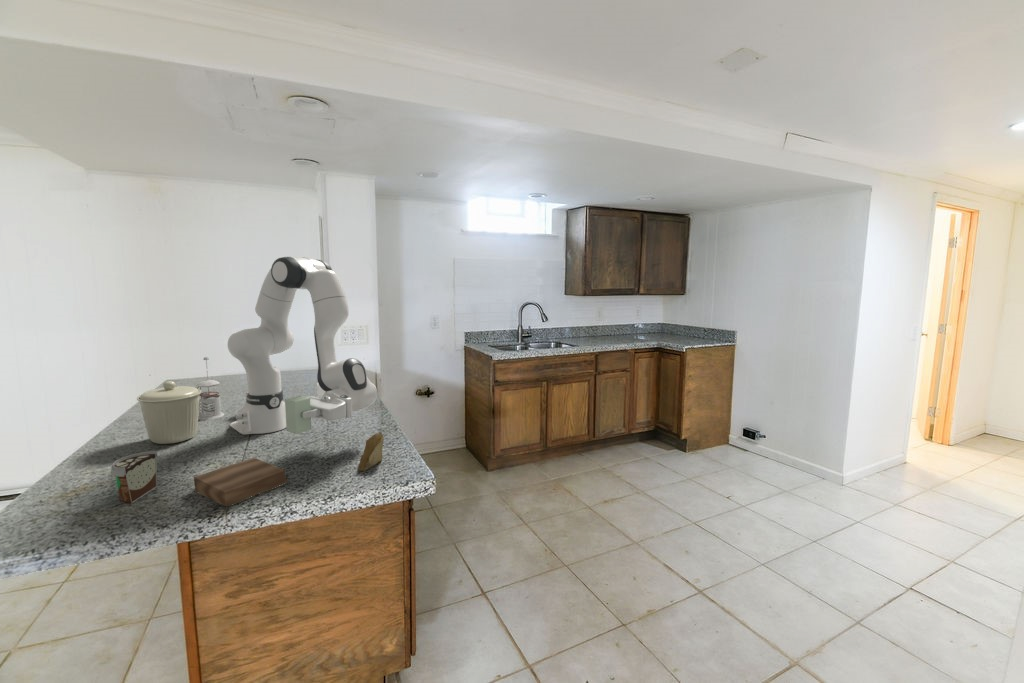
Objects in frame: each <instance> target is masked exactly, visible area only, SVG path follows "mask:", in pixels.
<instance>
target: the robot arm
mask: <svg viewBox="0 0 1024 683" xmlns="http://www.w3.org/2000/svg"><path fill="white" fill-rule="evenodd" d="M297 290H307V291H308V292H309V294H310V298H311V303H312V306H313V312H314V328H313V334H314V344H315V351H316V358H317V375H316V376H317V377H316V378H317V383H319V385H320V387H321V388H322V389H323V390H324V391H326V392H325V393H324V394H323V396H322V397H321V398H320V397H317V395H316V396H315V395H307V396H306V395H305V397H307V398H310V409H311V411H304V412H301V417H302V418H308V417H311V418H320V419H323V420H327V421H337V420H341V419H345V418H346V419H349V418H352V417H353V412H356V411H360V410H362V409H363V410H364V409H366V408H368V407H370V406H371V405H373V404H374V403H375V402H376V400H377V397H378V390H377V387H376V385H375V384H374V383H373V382H372V381H371V380H370V378H368V375H367V372H366V368H365V366H364V364H363V363H362V362H361V361H360V360H359V359H357V358H353V357H352V358H347V359H344V360H340V361H338V362H337V357H336V356H337V355H336V348H335V341H334V340H335V337H336V334H337V332H338V331H339V329H340V328H341V327H342V326H343V325H344V323H345V322H346V321H347V319H348V317H349V304H348V300H347V296H346V293H345V289H344V287H343V285H342V282H341V280H340V278H339V275H338V274H337V273H336V272H335V271H333V268H332V267H331V265H329V263H327V262H325V261H323V260H321V259H314V258H311V257H310V258H309V257H305V256H304V257H297V256H294V257H292V256H283V257H282V256H281V257H278V258H276V259H275V260H274V262H273V263H272V265H271V268H270V269H269V271H268V272H267V274H266V276H265V278H264V280H263V283H262V284H261V288H260V291H259V295H258V298H257V300H256V304H255V309H254V310H255V313H256V314H257V316H258V317H259V318H260V319H261V320H260V321H261V322H260V325H259V326H258V327H252V328H244V329H242V330H238V331H236V332H234V333H232V334H230V336H229V337H228V338H227V339H228V340H227V349H228V352H229V353H230V354H231V355H230V356H232V357H233V358H235V359H237V360H238V361H239V362H240V363H241V365H242V366H243V368H244V370H245V373H246V378H247V389H248V392H247V393H246V395H245V398H246V401H245V403H244V404H243V405H242V406H241V407H240V408H239V409H238V410H237V412H236V414H235V421H232V422H231V423H230V427H231V428H232V429H234V430H235V431H236V432H238V433H239V434H241V435H244V436H245V435H252V434H253V435H255V434H256V435H257V434H258V435H259V434H261V435H262V434H269V433H274V432H278V431H281V430H284V429H286V412H285V401H283V400H284V392H283V389H282V377H281V376H282V373H281V371H280V369H279V367H276V366H274V365H273V364H272V362H271V359H270V356H273V355H277V354H282V353H283V352H285V351H287V350H289V349H291V347H292V346H293V344H294V334H293V332H292V331H291V330H290V328H289V324H288V321H289V316H290V311H291V309H292V305H293V303H294V302H293V301H294V299H295V295H296V292H297Z"/></svg>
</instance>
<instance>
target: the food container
mask: <svg viewBox="0 0 1024 683" xmlns="http://www.w3.org/2000/svg"><path fill="white" fill-rule="evenodd" d="M157 458H159V456H158V452H157V450H151V451H143V452H137V453H133V454H129V455H126V456H123V457H120V458H118V459H117V460H114V462H113V463H112V465H111V469H110V474H111V476H113V477H114V478H115V483H116V487H117V491H118V495H119V500H120V502H121V503H123V504H130V505H133V503H135V502H136V501H138V500H140V499H141V498H142V497H144V496H146V495H147V494H149V493H150V492H152V491H153V490H155V489H156V488H157V487H158V472H157V470H158V468H157V467H158V466H157Z"/></svg>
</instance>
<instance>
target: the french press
mask: <svg viewBox="0 0 1024 683" xmlns="http://www.w3.org/2000/svg"><path fill="white" fill-rule="evenodd" d="M202 360H203V361H205V364H206V368H208V362H207V361H208V360H210V357H208V356H205V357H203V359H202ZM206 374H207V375H206V376H207V377H206V380H202V381H199V382H198V383H196V384H195V385H196V387H195V388H197V389H199V390H201V391H202V388H207V391H204V392H201V394H200V395H199V397H200V398H199V415H198V421H199V420H200V421H207V420H214V419H219V418H221V417H222V418H223V417H224V416H225V413H224V412H222V406H221V404H222V403H221V395H220V394H219V393H220V392H219V391H216V390H212V391H210V387H215V386H219V385H220V382H219V381H218V380H214V379H209V375H208V371H206Z"/></svg>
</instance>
